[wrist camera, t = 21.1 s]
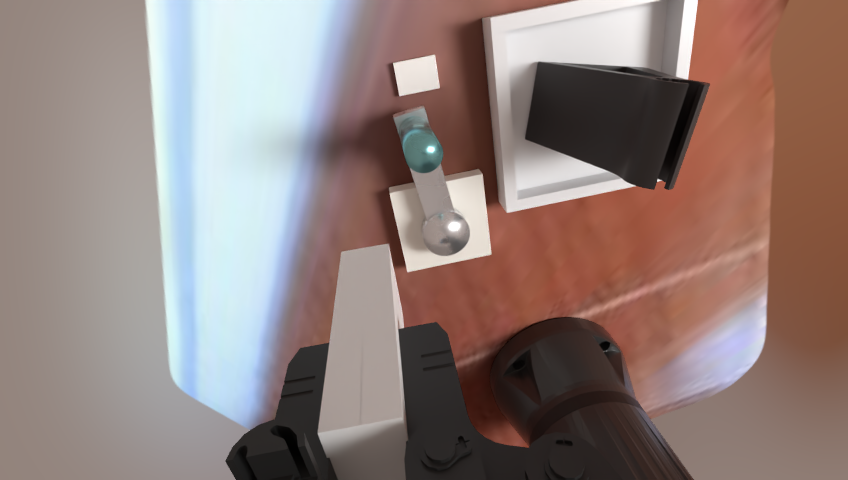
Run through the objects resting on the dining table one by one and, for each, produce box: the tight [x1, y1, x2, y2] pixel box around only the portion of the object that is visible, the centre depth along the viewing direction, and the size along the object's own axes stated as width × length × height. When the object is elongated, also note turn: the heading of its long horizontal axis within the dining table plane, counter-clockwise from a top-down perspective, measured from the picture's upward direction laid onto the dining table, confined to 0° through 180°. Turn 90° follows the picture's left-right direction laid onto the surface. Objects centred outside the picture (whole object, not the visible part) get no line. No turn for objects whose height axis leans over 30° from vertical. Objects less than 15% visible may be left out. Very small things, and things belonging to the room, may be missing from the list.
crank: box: [393, 105, 470, 256], centre depth 31 cm, size 12×4×7 cm, turn 17°
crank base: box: [389, 55, 491, 272], centre depth 35 cm, size 18×8×1 cm, turn 10°
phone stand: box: [525, 61, 710, 190], centre depth 29 cm, size 9×6×12 cm, turn 86°
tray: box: [482, 0, 698, 213], centre depth 33 cm, size 15×15×2 cm
